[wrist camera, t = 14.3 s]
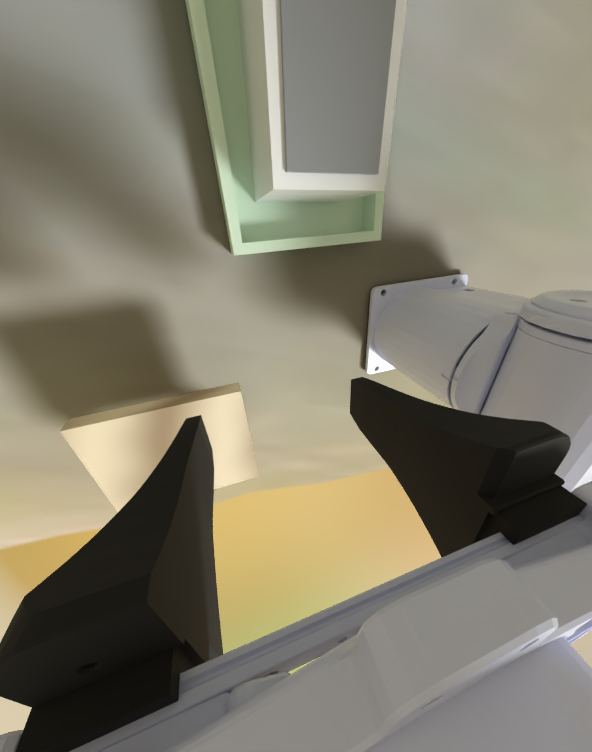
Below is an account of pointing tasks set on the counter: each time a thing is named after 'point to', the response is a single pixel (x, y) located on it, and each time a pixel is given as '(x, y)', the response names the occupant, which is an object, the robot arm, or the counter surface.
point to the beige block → (161, 439)
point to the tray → (233, 154)
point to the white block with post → (320, 95)
